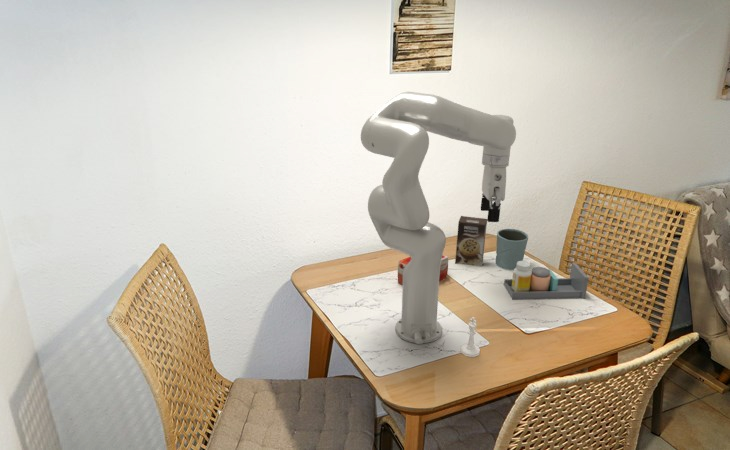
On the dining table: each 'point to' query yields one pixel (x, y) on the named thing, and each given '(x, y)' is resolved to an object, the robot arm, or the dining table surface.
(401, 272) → the medicine box
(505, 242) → the teal cup
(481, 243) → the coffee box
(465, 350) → the chess piece
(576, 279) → the lane
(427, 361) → the dining table surface
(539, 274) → the jar
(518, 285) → the supplement bottle
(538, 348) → the dining table surface
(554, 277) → the plate
